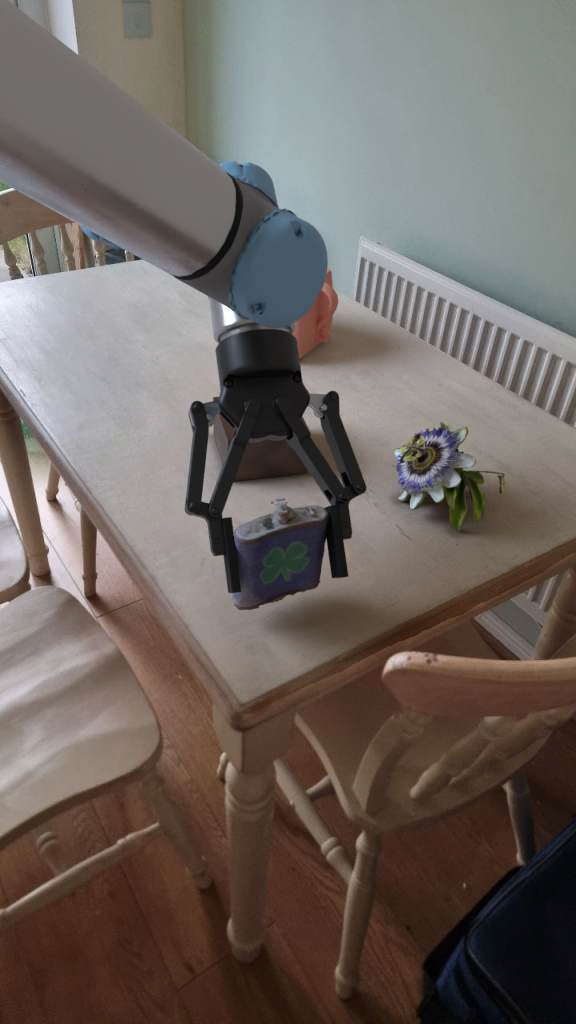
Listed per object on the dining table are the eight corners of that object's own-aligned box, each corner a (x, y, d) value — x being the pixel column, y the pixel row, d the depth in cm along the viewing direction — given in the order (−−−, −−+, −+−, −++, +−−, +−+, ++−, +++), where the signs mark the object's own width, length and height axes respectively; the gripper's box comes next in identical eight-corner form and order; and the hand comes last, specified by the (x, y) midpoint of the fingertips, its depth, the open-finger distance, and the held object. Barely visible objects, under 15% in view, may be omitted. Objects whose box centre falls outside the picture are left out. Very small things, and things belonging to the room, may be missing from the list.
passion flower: (398, 534, 86) (370, 442, 84) (474, 505, 88) (448, 414, 86) (440, 547, 75) (408, 441, 73) (525, 512, 77) (496, 409, 75)
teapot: (181, 353, 108) (176, 266, 100) (246, 311, 122) (247, 231, 113) (292, 390, 101) (299, 299, 93) (349, 341, 115) (359, 258, 106)
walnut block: (227, 482, 84) (227, 440, 80) (213, 436, 91) (212, 396, 87) (307, 473, 86) (311, 432, 82) (287, 429, 93) (289, 390, 89)
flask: (238, 615, 64) (241, 527, 57) (226, 594, 66) (227, 506, 59) (325, 586, 67) (337, 500, 61) (311, 567, 69) (321, 481, 63)
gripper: (354, 346, 70) (386, 569, 68) (134, 360, 65) (163, 601, 63) (380, 319, 62) (417, 567, 61) (135, 331, 57) (167, 603, 56)
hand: (288, 584), depth 62 cm, fingers closed on flask, 9 cm apart
